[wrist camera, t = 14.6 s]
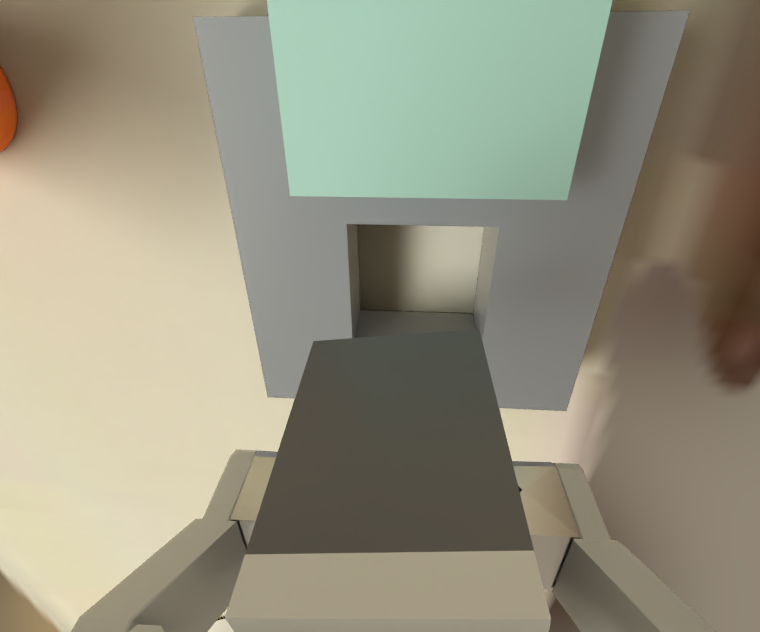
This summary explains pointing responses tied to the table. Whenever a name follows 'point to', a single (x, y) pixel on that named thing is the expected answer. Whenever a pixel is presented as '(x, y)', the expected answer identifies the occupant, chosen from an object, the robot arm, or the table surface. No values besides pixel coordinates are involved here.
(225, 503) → the robot arm
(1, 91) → the paper cup
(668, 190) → the table surface
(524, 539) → the plug
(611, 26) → the socket
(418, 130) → the mint green block
